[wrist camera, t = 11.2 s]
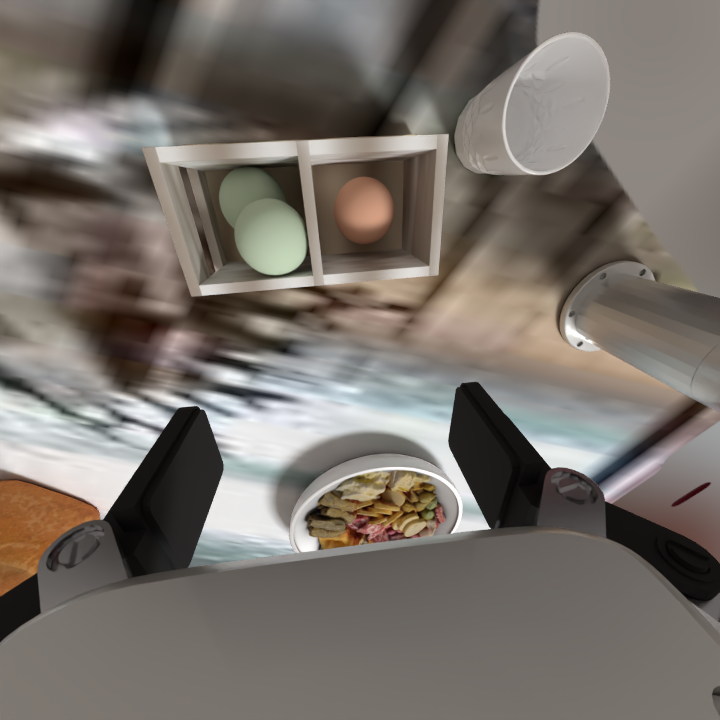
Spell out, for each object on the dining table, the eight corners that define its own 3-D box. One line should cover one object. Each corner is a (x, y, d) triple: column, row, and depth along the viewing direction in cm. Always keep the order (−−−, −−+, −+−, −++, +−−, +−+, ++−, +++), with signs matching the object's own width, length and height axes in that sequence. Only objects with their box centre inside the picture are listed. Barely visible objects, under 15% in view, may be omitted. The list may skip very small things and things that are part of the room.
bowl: (254, 505, 52) (245, 553, 45) (396, 412, 46) (410, 450, 39) (357, 566, 66) (362, 609, 59) (477, 500, 60) (497, 539, 53)
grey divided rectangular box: (412, 137, 29) (457, 111, 20) (409, 263, 35) (442, 288, 26) (188, 147, 27) (125, 124, 18) (224, 279, 33) (190, 311, 24)
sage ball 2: (296, 174, 22) (333, 249, 24) (272, 203, 26) (304, 264, 28) (225, 201, 19) (273, 282, 21) (213, 227, 24) (253, 291, 26)
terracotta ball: (387, 176, 29) (401, 173, 24) (387, 238, 32) (400, 246, 27) (329, 179, 29) (332, 176, 24) (334, 241, 31) (338, 250, 27)
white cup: (432, 130, 29) (482, 104, 21) (500, 57, 27) (586, -6, 19) (474, 197, 33) (532, 198, 24) (537, 136, 31) (625, 114, 22)
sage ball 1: (288, 184, 29) (275, 148, 24) (294, 243, 30) (283, 222, 24) (229, 188, 29) (202, 153, 23) (237, 248, 29) (212, 227, 24)
